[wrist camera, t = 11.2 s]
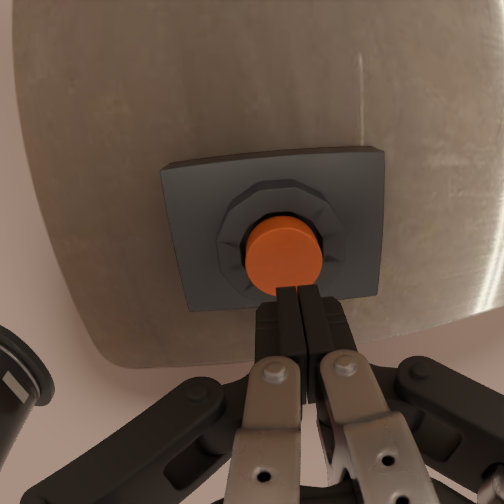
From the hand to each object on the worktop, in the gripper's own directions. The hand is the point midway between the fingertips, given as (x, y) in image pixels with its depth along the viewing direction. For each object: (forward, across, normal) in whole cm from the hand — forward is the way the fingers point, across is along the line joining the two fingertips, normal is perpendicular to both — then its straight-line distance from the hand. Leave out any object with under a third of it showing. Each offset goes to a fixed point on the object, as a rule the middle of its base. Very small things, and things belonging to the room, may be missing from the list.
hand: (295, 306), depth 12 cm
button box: (+9, 0, 0) cm, 9 cm away
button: (+5, 0, 0) cm, 5 cm away
